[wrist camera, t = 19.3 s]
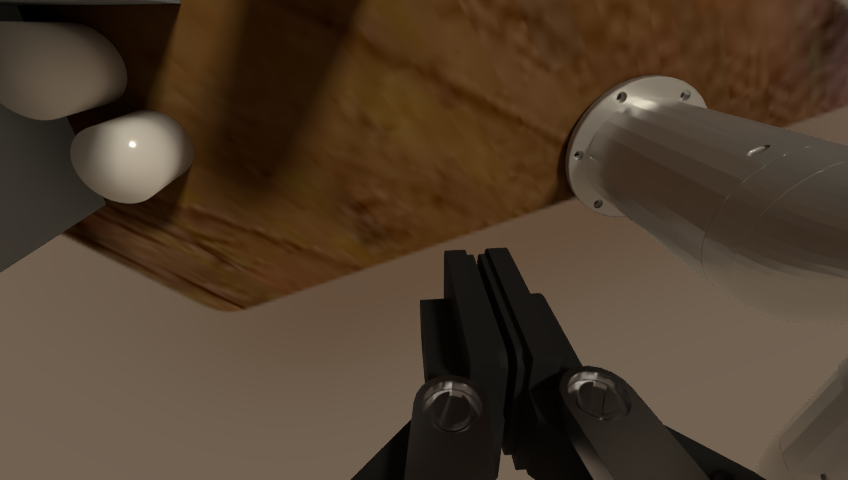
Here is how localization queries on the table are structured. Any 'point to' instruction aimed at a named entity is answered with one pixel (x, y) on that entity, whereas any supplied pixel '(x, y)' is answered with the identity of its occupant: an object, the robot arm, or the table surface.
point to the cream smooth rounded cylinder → (132, 155)
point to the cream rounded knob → (57, 69)
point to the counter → (40, 166)
